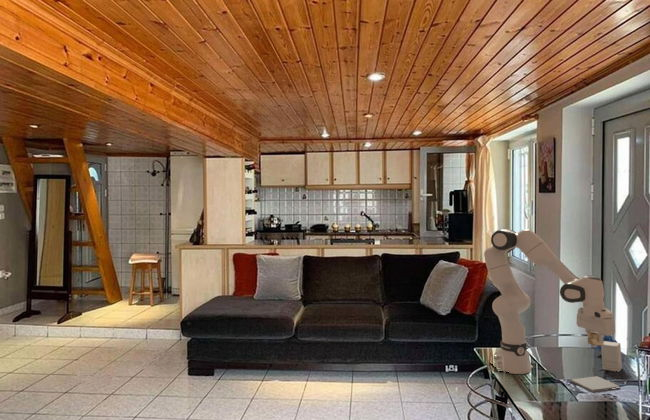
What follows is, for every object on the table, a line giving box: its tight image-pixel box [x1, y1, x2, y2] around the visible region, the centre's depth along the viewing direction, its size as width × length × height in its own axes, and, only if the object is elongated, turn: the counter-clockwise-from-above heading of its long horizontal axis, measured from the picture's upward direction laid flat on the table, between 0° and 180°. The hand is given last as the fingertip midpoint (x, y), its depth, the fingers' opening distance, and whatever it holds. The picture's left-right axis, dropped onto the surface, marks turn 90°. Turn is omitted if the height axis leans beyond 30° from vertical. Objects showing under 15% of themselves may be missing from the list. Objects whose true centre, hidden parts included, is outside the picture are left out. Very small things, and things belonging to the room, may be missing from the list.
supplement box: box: [600, 341, 623, 373], centre depth 238 cm, size 7×7×13 cm
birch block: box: [587, 331, 604, 347], centre depth 223 cm, size 4×4×5 cm
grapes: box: [595, 335, 618, 352], centre depth 259 cm, size 12×7×12 cm, turn 61°
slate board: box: [570, 375, 621, 393], centre depth 219 cm, size 14×14×1 cm
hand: (595, 340), depth 223 cm, fingers closed on birch block, 4 cm apart
